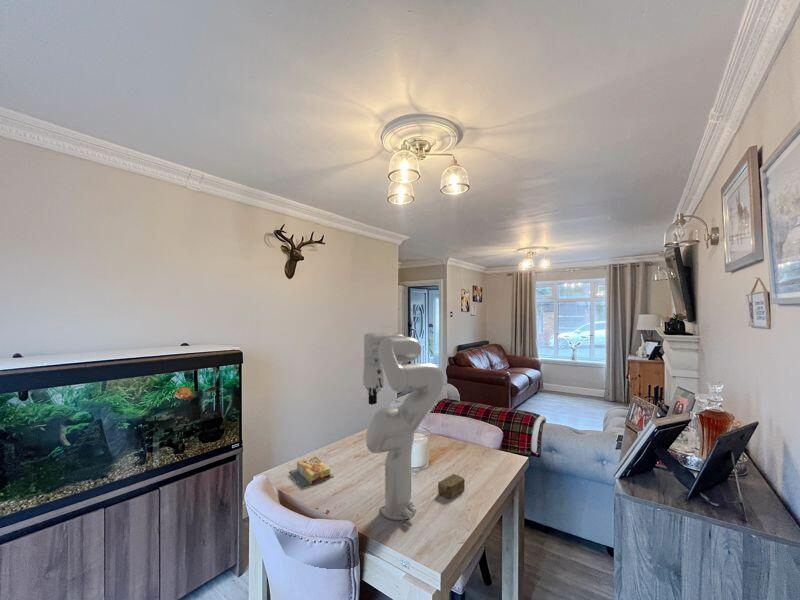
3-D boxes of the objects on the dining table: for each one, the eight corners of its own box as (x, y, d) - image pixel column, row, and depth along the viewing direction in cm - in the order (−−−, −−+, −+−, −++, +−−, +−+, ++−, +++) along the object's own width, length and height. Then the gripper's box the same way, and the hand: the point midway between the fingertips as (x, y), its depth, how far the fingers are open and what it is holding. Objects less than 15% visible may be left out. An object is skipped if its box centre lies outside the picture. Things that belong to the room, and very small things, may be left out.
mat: (333, 477, 145) (333, 476, 145) (301, 486, 137) (301, 485, 137) (319, 463, 158) (319, 462, 158) (289, 471, 150) (289, 470, 150)
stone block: (437, 495, 131) (437, 482, 131) (454, 484, 139) (454, 472, 139) (449, 500, 127) (449, 487, 127) (466, 489, 135) (465, 477, 135)
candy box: (330, 477, 143) (315, 465, 155) (330, 467, 143) (315, 456, 155) (311, 484, 138) (296, 471, 150) (311, 474, 138) (296, 461, 150)
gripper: (389, 362, 142) (389, 406, 141) (370, 358, 154) (370, 398, 153) (374, 364, 137) (374, 409, 136) (356, 360, 149) (356, 401, 148)
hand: (372, 403), depth 145 cm, fingers closed
